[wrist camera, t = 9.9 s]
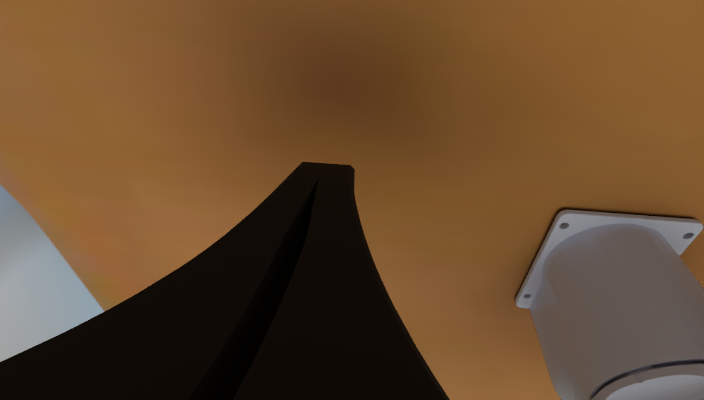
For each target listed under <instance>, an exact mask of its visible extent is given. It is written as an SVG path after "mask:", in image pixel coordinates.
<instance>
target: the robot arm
mask: <svg viewBox="0 0 704 400" xmlns="http://www.w3.org/2000/svg"><path fill="white" fill-rule="evenodd" d="M354 171H355V169H354V168H353V167H352V166H351V165H340V164H326V163H312V162H302V163H301V164H300V165H299V166H298V167H297V168H296V169H295V170H294V171H293V172H292V173H291V174H290V175H289V176H288V177H287V178H286V179H285V180H284V181H283V182H282V183H281V184H280V185H279V186H278V187H277V188H276V189H275V190H274V191H273V192H272V193H271V194H270V195H269V196H268V197H267V198H266V199H265V200H264V201H263V202H262V203H261V204H260V205H259V206H258V207H257V208H256V209H254V210H253V211H252V212H251V213H250V214H249V215H248V216H247V217H245V218H244V219H243V220H242V221H241V222H240V223H238V224H237V225H236V226H235V227H234V228H232V229H231V230H230V231H229V232H228V233H227V234H225V235H224V236H223V237H222V238H220V239H219V240H218V241H216V242H215V243H214V244H213V245H211V246H210V247H209V248H207V249H206V250H204V251H203V252H202V253H200V254H199V255H197V256H196V257H195V258H193V259H192V260H190V261H189V262H187V263H186V264H184V265H183V266H181V267H180V268H178V269H177V270H175V271H173V272H172V273H170V274H168V275H167V276H165V277H164V278H162V279H160V280H159V281H157V282H155V283H154V284H152V285H151V286H149V287H147V288H146V289H144V290H143V291H141V292H139V293H138V294H136V295H134V296H132V297H131V298H129V299H127V300H125V301H123V302H122V303H120V304H118V305H116V306H114V307H112V308H111V309H109V310H107V311H105V312H103V313H102V314H99V315H97V316H95V317H94V318H92V319H90V320H88V321H86V322H84V323H82V324H80V325H78V326H76V327H74V328H72V329H70V330H68V331H66V332H64V333H62V334H60V335H58V336H56V337H54V338H51V339H49V340H47V341H45V342H43V343H41V344H39V345H36V346H34V347H32V348H30V349H28V350H26V351H24V352H22V353H19V354H17V355H15V356H13V357H11V358H8V359H6V360H4V361H2V362H0V400H450V399H449V398H448V396H447V395H446V393H445V392H444V390H443V389H442V387H441V386H440V384H439V383H438V381H437V379H436V378H435V376H434V375H433V373H432V372H431V370H430V368H429V367H428V365H427V363H426V362H425V360H424V359H423V357H422V355H421V354H420V352H419V350H418V349H417V347H416V345H415V344H414V342H413V340H412V338H411V336H410V334H409V333H408V331H407V329H406V327H405V325H404V324H403V322H402V320H401V318H400V316H399V314H398V313H397V311H396V309H395V307H394V305H393V303H392V301H391V299H390V297H389V295H388V293H387V291H386V289H385V286H384V284H383V282H382V280H381V278H380V275H379V273H378V271H377V268H376V266H375V263H374V261H373V258H372V256H371V253H370V250H369V248H368V245H367V242H366V239H365V236H364V233H363V229H362V226H361V222H360V218H359V214H358V210H357V206H356V201H355V195H354ZM562 223H565V224H563V225H561V224H562ZM702 229H703V225H702V223H701V222H700V221H699V220H695V219H683V218H670V217H657V216H644V215H631V214H618V213H605V212H592V211H579V210H563V211H561V212H559V213H558V214H557V216H556V218H555V220H554V222H553V224H552V226H551V228H550V230H549V232H548V234H547V236H546V238H545V240H544V242H543V244H542V246H541V248H540V250H539V252H538V254H537V256H536V258H535V261H534V263H533V265H532V267H531V269H530V271H529V273H528V275H527V277H526V279H525V281H524V283H523V285H522V287H521V289H520V291H519V293H518V295H517V297H516V299H515V303H516V306H517V307H520V308H528V309H530V312H531V315H532V319H533V322H534V325H535V329H536V332H537V335H538V338H539V342H540V345H541V348H542V352H543V355H544V358H545V361H546V365H547V368H548V371H549V375H550V378H551V381H552V383H553V386H554V388H555V390H556V392H557V393H558V395H559V397H560V398H561V399H562V400H704V288H703V287H702V285H701V284H700V283H699V281H698V280H697V279H696V277H695V276H694V275H693V274H692V272H691V271H690V270H689V268H688V267H687V266H686V264H685V263H684V262H683V261H682V259H681V258H680V257H679V256H680V255H681V254H682V253H683V252H684V250H685V249H686V248H687V247H688V246H689V245H690V244H691V242H692V241H693V240H694V239H695V238H696V237H697V235H698V234H699V233H700V232H701V231H702Z"/></svg>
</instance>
